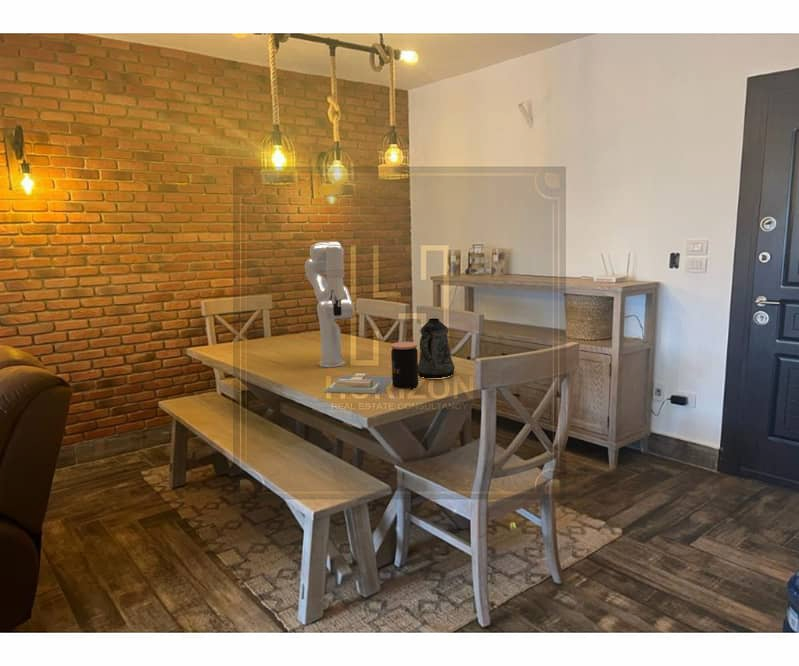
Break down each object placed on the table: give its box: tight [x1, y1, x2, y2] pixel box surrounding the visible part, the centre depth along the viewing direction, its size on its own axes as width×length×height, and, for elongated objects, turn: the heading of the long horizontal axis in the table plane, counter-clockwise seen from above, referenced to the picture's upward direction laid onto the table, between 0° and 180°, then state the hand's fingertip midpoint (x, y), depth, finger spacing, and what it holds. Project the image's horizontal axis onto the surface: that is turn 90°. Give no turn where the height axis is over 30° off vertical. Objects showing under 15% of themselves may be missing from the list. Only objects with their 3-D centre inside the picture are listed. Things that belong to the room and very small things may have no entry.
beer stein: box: [418, 317, 455, 379], centre depth 253 cm, size 16×19×25 cm
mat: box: [322, 375, 392, 395], centre depth 241 cm, size 26×24×3 cm
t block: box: [335, 372, 373, 388], centre depth 237 cm, size 14×14×4 cm
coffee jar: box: [390, 341, 419, 391], centre depth 237 cm, size 11×11×18 cm
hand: (337, 315), depth 257 cm, fingers closed
